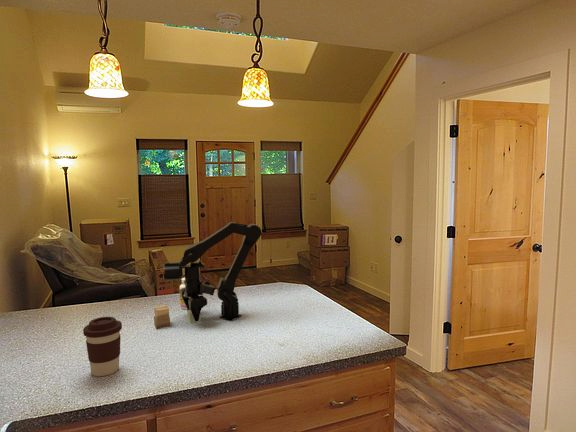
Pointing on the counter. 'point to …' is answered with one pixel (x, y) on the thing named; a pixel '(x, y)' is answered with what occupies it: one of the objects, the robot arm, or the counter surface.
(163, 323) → the walnut base
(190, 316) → the sage block
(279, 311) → the counter surface
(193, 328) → the counter surface
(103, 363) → the coffee cup
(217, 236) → the robot arm
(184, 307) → the supplement bottle
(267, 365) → the counter surface
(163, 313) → the oak block
